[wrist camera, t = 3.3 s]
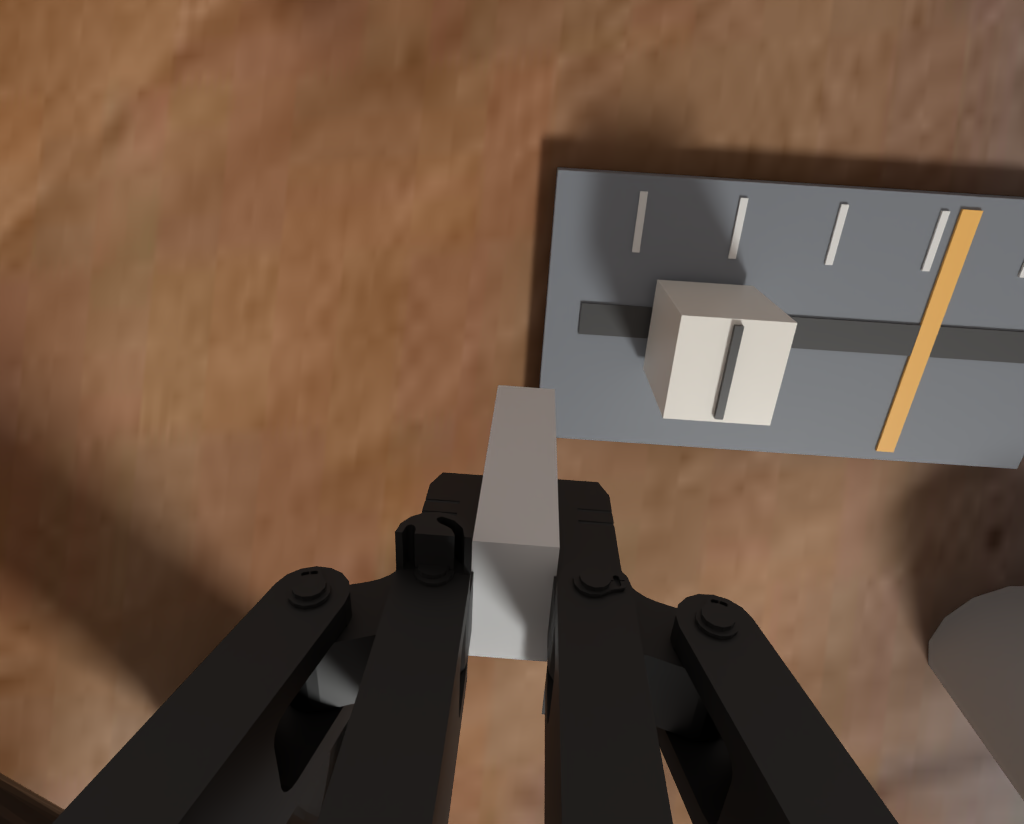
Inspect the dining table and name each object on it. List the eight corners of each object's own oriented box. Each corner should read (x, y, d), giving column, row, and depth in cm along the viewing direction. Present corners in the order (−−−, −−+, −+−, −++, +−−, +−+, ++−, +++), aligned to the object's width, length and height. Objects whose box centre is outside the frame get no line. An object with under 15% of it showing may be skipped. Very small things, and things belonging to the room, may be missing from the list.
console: (535, 424, 31) (535, 437, 30) (557, 167, 26) (557, 169, 25) (1000, 456, 31) (1018, 470, 30) (1117, 203, 26) (1145, 207, 25)
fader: (643, 368, 28) (663, 420, 23) (657, 279, 26) (682, 317, 22) (732, 374, 28) (771, 427, 23) (753, 285, 26) (799, 324, 22)
